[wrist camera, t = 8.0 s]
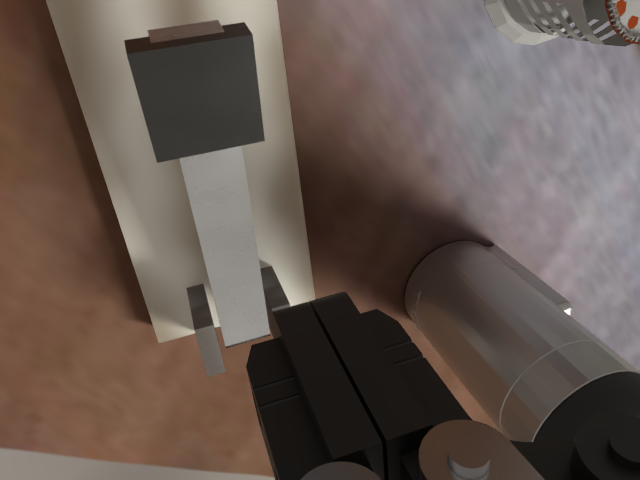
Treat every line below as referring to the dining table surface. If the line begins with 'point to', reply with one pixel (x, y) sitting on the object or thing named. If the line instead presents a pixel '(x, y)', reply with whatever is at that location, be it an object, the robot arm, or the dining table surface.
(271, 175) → the press base
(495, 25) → the french press
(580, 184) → the dining table surface
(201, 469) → the dining table surface
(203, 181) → the lever
